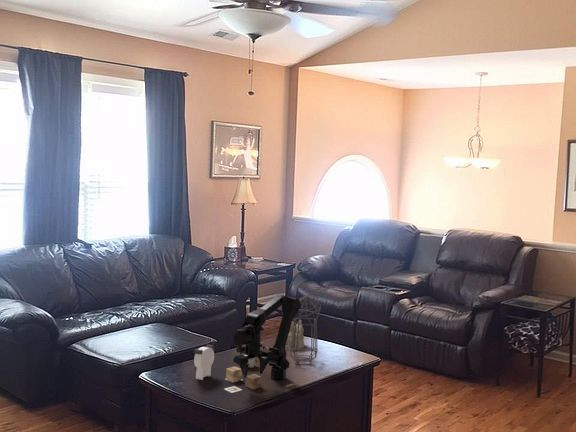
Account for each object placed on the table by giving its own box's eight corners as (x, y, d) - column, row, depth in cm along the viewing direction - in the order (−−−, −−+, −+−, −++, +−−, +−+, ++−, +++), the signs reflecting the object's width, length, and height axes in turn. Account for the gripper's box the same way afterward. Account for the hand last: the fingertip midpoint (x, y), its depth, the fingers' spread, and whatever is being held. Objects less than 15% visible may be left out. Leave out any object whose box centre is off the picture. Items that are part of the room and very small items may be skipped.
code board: (238, 377, 290) (238, 375, 290) (265, 389, 275) (265, 387, 275) (206, 385, 278) (206, 383, 278) (233, 398, 263) (233, 396, 263)
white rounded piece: (201, 373, 294) (202, 342, 293) (221, 377, 289) (222, 346, 288) (186, 380, 284) (186, 348, 283) (206, 384, 279) (207, 352, 278)
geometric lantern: (319, 358, 323) (322, 293, 319) (317, 369, 307) (320, 300, 304) (289, 356, 324) (292, 291, 321) (286, 366, 308) (289, 298, 305)
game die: (244, 375, 304) (235, 357, 307) (259, 367, 307) (250, 349, 310) (248, 372, 296) (238, 353, 299) (263, 363, 299) (253, 345, 302)
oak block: (234, 376, 288) (235, 366, 288) (241, 379, 284) (241, 369, 284) (226, 379, 285) (226, 368, 284) (232, 381, 281) (232, 371, 281)
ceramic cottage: (290, 339, 357) (291, 314, 355) (310, 347, 345) (310, 321, 343) (270, 345, 347) (270, 320, 345) (289, 353, 335) (289, 327, 332)
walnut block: (253, 384, 279) (254, 373, 279) (261, 387, 275) (261, 376, 275) (245, 386, 276) (245, 376, 275) (252, 390, 272) (252, 379, 272)
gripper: (258, 334, 286) (257, 367, 287) (226, 340, 274) (225, 375, 275) (274, 339, 278) (273, 373, 279) (241, 346, 265) (240, 381, 266)
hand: (253, 375), depth 275 cm, fingers open, 9 cm apart
